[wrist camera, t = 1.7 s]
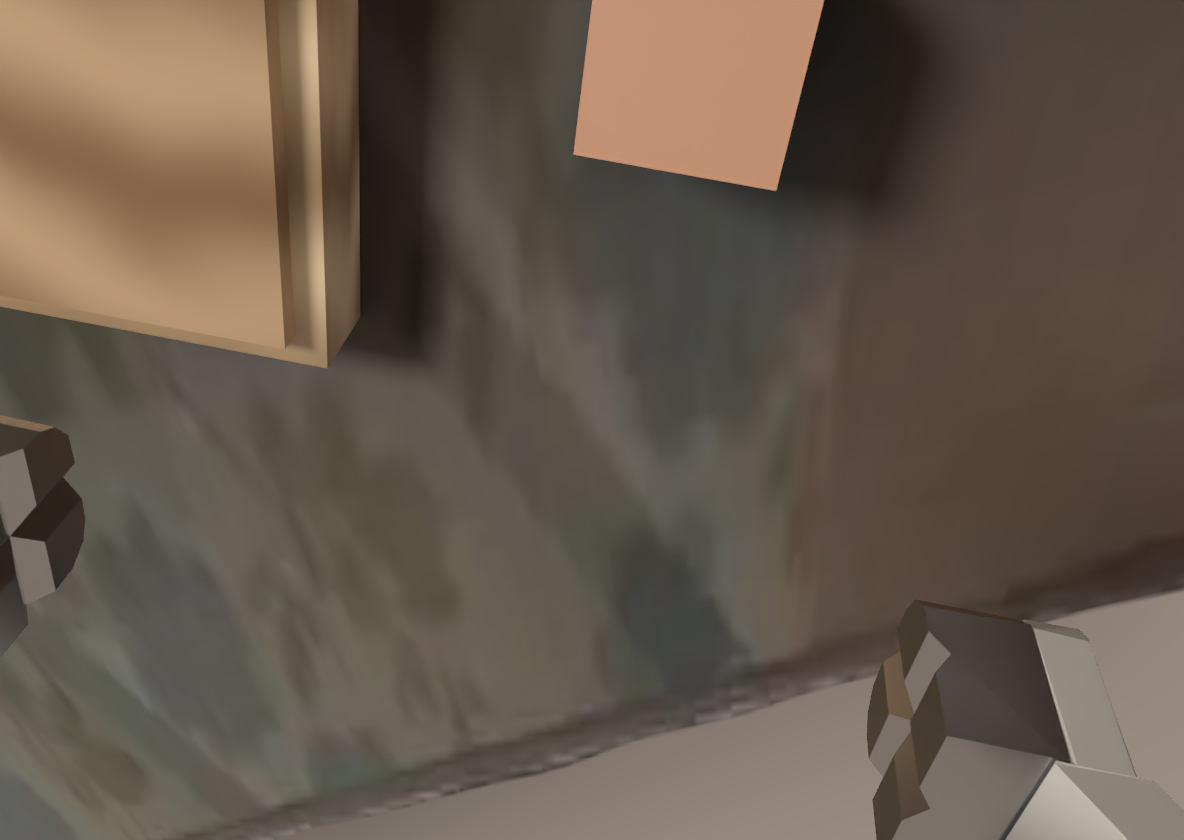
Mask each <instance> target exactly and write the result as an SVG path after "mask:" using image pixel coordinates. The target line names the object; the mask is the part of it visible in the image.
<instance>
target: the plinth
mask: <svg viewBox="0 0 1184 840" xmlns="http://www.w3.org/2000/svg"><path fill="white" fill-rule="evenodd" d="M0 306H1V307H6V308H11V309H16V310H22V311H27V312H32V313H38V314H43V315H48V316H53V317H59V318H64V319H69V320H75V321H80V322H85V323H90V324H96V325H101V326H106V327H112V328H117V329H122V330H127V331H133V332H138V333H143V334H148V335H154V336H159V337H164V338H170V339H175V340H180V341H185V342H191V343H196V344H201V345H207V346H212V347H217V348H222V349H228V350H233V351H238V352H244V353H249V354H254V355H259V356H265V357H270V358H275V359H281V360H286V361H291V362H296V363H302V364H307V365H312V366H317V367H323V368H328V367H329V365H330V364H331V362H332V361H333V359H334V357H335V356H336V354H337V353H338V351H339V350H340V348H341V346H342V345H343V343H344V342H345V340H346V339H347V337H348V336H349V334H350V332H351V331H352V329H353V328H354V326H355V325H356V323H357V321H358V320H359V318H360V188H359V52H358V0H0Z"/></svg>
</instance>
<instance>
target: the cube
mask: <svg viewBox="0 0 1184 840" xmlns="http://www.w3.org/2000/svg"><path fill="white" fill-rule="evenodd" d="M823 3H824V0H592V8H591V16H590V24H589V32H588V41H587V49H586V57H585V65H584V73H583V81H582V89H581V97H580V106H579V114H578V122H577V130H576V138H575V146H574V154H573V155H579V156H584V157H590V158H595V159H601V160H606V161H612V162H618V163H623V164H629V165H634V166H640V167H645V168H651V169H656V170H662V171H668V172H673V173H679V174H684V175H690V176H695V177H701V178H706V179H712V180H718V181H723V182H729V183H734V184H740V185H745V186H751V187H756V188H762V189H768V190H773V191H776V190H777V186H778V182H779V178H780V174H781V170H782V166H783V162H784V158H785V154H786V150H787V146H788V142H789V138H790V134H791V130H792V126H793V122H794V118H795V114H796V110H797V106H798V102H799V99H800V95H801V91H802V87H803V83H804V79H805V75H806V71H807V67H808V63H809V59H810V55H811V51H812V47H813V43H814V39H815V35H816V31H817V27H818V23H819V19H820V15H821V11H822V7H823Z"/></svg>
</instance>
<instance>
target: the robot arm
mask: <svg viewBox="0 0 1184 840" xmlns="http://www.w3.org/2000/svg"><path fill="white" fill-rule="evenodd" d="M74 463H75V461H74V457H73V453H72V449H71V445H70V441H69V437H68V435H67V434H65V433H64V432H62V431H60V430H59V429H57V428H55V427H51V426H47V425H42V424H38V423H33V422H29V421H24V420H20V419H15V418H11V417H6V416H2V415H0V658H1V657H2V656H3V655H4V654H5V652H6V651H7V650H8V649H9V647H10V646H11V645H12V644H13V643H14V641H15V640H16V639H17V638H18V636H19V635H20V634H21V633H22V632H23V630H24V629H25V628H26V627H27V625H28V617H27V607H26V604H28V603H30V602H33V601H35V600H37V599H39V598H41V597H43V596H46V595H48V594H50V593H52V592H54V591H56V590H57V588H58V587H59V586H60V584H61V583H62V582H63V581H64V579H65V578H66V577H67V575H68V574H69V573H70V571H71V570H72V569H73V566H74V564H75V561H76V559H77V556H78V554H79V551H80V549H81V546H82V543H83V540H84V528H85V514H84V508H83V502H82V498H81V497H80V496H79V495H78V494H77V493H76V492H75V490H74V489H73V488H72V487H71V486H70V485H69V484H68V483H67V481H66V480H65V479H64V478H63V477H64V476H65V474H66V473H67V472H68V471H69V470H70V468H71V467H72V466H73V465H74ZM898 636H899V644H900V652H899V653H897V654H895V655H893V656H891V657H890V658H888V659H886V660H884V661H883V663H882V665H881V668H880V670H879V673H878V675H877V678H876V680H875V683H874V685H873V690H872V695H871V700H870V705H869V710H868V722H867V742H868V754H869V759H870V761H871V762H872V763H873V764H874V766H875V767H876V768H877V770H878V771H879V772H880V774H881V775H882V776H883V779H882V781H881V783H880V785H879V788H878V790H877V792H876V794H875V796H874V798H873V807H874V818H875V827H876V837H877V840H1184V810H1183V809H1182V808H1181V807H1180V806H1179V805H1178V804H1177V803H1175V801H1173V800H1172V798H1171V797H1170V796H1169V795H1168V794H1166V792H1164V790H1163V789H1161V788H1160V787H1159V786H1158V785H1157V784H1156V783H1155V782H1154V781H1150V780H1145V779H1141V778H1137V776H1136V773H1135V770H1134V767H1133V764H1132V762H1131V759H1130V756H1129V753H1128V750H1127V747H1126V745H1125V742H1124V739H1123V736H1122V733H1121V730H1120V728H1119V725H1118V722H1117V719H1116V716H1115V713H1114V711H1113V708H1112V705H1111V702H1110V699H1109V697H1108V694H1107V691H1106V688H1105V685H1104V682H1103V679H1102V677H1101V674H1100V671H1099V668H1098V665H1097V663H1096V660H1095V657H1094V654H1093V651H1092V649H1091V646H1090V643H1089V640H1088V638H1087V637H1086V636H1085V635H1084V634H1083V633H1082V632H1081V631H1080V630H1079V629H1073V628H1067V627H1062V626H1057V625H1051V624H1046V623H1040V622H1035V621H1029V620H1023V621H1021V620H1018V619H1014V618H1009V617H1003V616H998V615H993V614H988V613H983V612H977V611H972V610H967V609H962V608H957V607H952V606H946V605H941V604H936V603H931V602H926V601H920V600H914V601H913V602H912V604H911V605H910V606H909V607H908V608H907V609H906V611H905V613H904V616H903V618H902V620H901V622H900V624H899V626H898Z"/></svg>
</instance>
